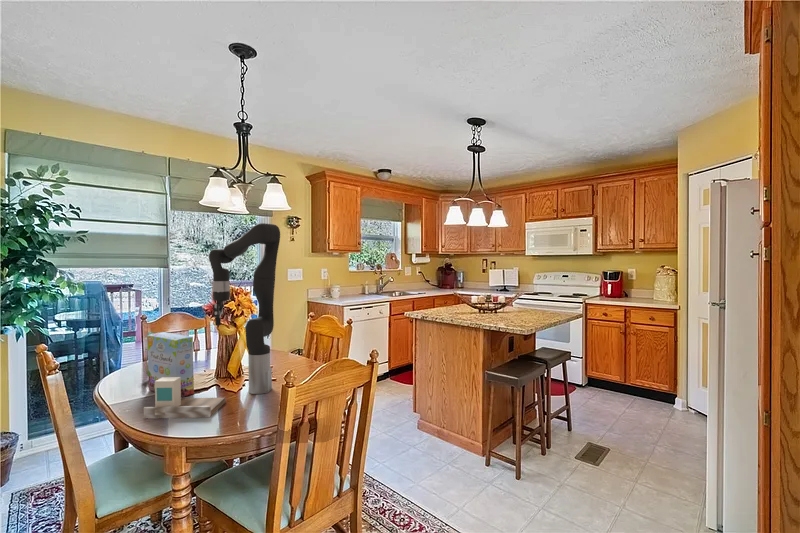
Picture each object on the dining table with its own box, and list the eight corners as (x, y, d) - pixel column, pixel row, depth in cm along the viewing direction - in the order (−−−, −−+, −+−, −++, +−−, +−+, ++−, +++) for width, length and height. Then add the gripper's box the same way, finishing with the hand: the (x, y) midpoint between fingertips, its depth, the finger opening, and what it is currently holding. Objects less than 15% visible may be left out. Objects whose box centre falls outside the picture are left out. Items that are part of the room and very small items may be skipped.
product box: (162, 404, 152) (162, 377, 152) (180, 404, 153) (180, 377, 152) (155, 410, 147) (154, 381, 147) (174, 409, 148) (173, 381, 147)
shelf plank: (225, 402, 160) (225, 392, 160) (209, 417, 145) (209, 407, 145) (166, 403, 159) (165, 393, 159) (143, 418, 144) (143, 408, 144)
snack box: (146, 391, 173) (145, 334, 173) (165, 385, 181) (165, 331, 180) (176, 400, 163) (175, 339, 162) (195, 393, 171) (194, 335, 170)
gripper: (219, 289, 193) (220, 321, 193) (206, 291, 178) (207, 326, 179) (235, 289, 193) (235, 321, 193) (223, 291, 179) (223, 326, 179)
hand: (221, 323), depth 186 cm, fingers open, 8 cm apart
